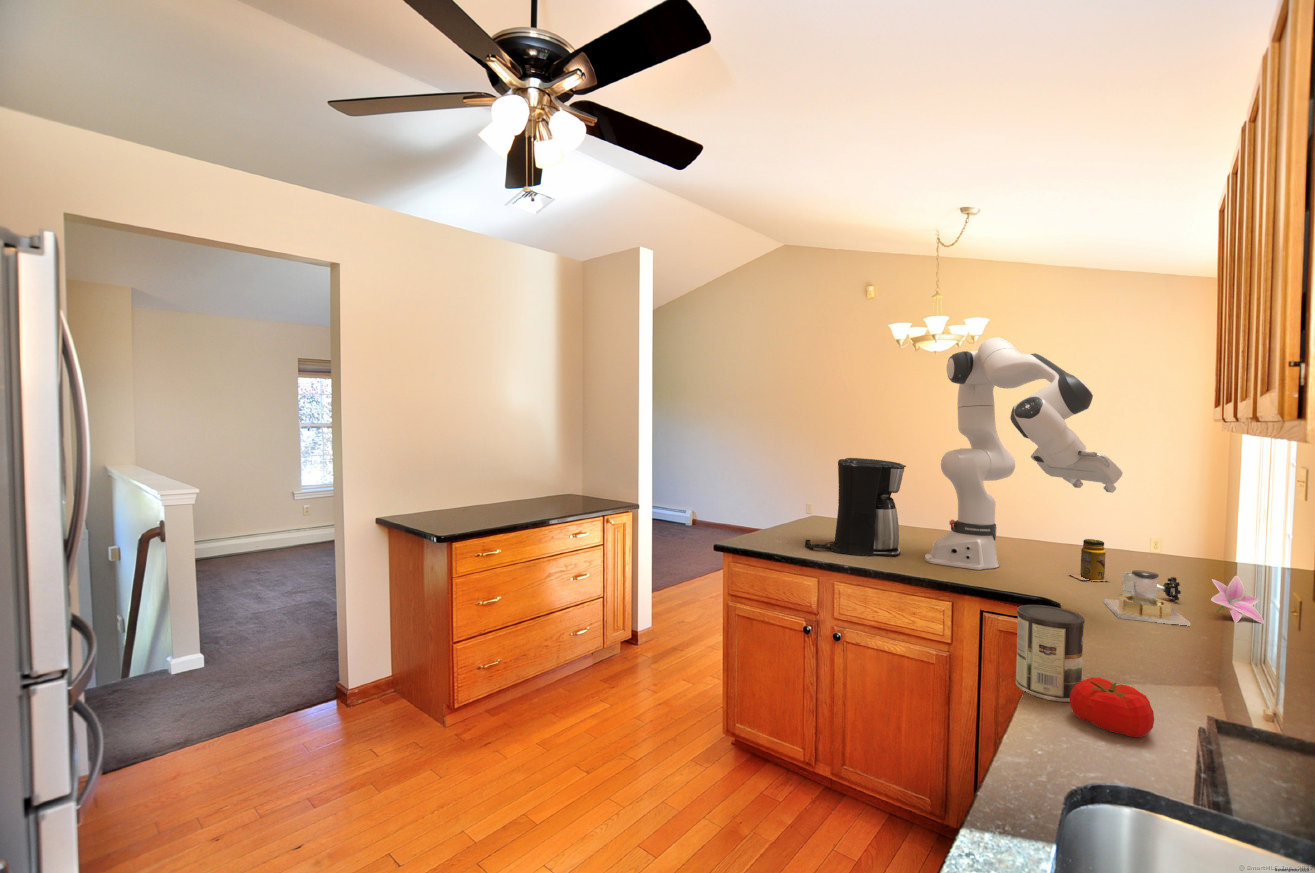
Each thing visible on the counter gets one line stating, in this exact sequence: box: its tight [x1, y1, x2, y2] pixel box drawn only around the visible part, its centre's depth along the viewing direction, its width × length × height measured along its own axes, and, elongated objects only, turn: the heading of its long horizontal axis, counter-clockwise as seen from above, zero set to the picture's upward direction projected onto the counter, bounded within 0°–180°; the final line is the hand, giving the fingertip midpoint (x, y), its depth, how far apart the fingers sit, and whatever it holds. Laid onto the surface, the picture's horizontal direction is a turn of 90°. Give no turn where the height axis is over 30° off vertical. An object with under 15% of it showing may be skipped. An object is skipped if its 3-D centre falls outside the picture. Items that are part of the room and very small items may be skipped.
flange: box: [1103, 594, 1191, 627], centre depth 154 cm, size 14×14×3 cm
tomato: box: [1069, 676, 1155, 738], centre depth 97 cm, size 10×11×6 cm
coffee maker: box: [804, 457, 907, 557], centre depth 221 cm, size 23×32×34 cm
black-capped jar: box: [1131, 569, 1160, 605], centre depth 154 cm, size 5×5×9 cm
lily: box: [1210, 575, 1265, 624], centre depth 152 cm, size 12×12×10 cm
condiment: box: [1067, 538, 1106, 580], centre depth 186 cm, size 7×8×12 cm
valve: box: [1121, 571, 1182, 602], centre depth 167 cm, size 7×7×12 cm
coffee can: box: [1015, 604, 1086, 703], centre depth 110 cm, size 10×10×14 cm
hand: (1095, 488), depth 156 cm, fingers open, 8 cm apart
